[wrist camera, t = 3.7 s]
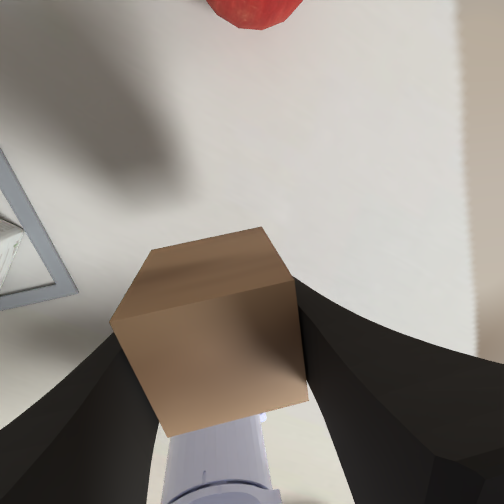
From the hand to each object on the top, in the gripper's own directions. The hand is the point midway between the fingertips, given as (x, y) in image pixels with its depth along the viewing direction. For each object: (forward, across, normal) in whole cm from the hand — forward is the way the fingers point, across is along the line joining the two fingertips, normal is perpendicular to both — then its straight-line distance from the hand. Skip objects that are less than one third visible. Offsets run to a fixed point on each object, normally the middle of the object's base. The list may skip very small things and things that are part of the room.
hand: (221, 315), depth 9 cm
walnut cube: (+2, 0, 0) cm, 2 cm away
